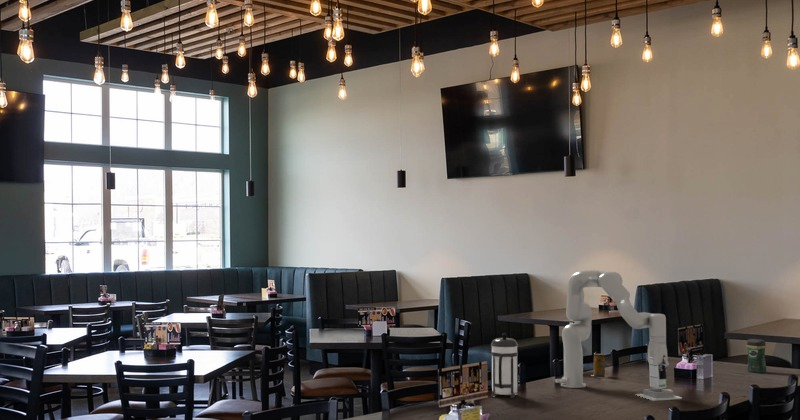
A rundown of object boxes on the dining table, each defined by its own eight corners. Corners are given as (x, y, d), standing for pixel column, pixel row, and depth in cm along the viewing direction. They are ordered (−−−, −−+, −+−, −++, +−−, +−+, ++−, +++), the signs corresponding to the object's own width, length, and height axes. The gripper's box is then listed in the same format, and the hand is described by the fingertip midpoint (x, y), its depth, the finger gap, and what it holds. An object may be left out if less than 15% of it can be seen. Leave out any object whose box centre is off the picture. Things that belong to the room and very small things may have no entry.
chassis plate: (652, 400, 379) (652, 394, 379) (635, 395, 392) (635, 388, 392) (682, 398, 384) (682, 392, 384) (664, 393, 397) (663, 387, 397)
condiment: (602, 375, 453) (602, 353, 453) (609, 377, 444) (609, 355, 445) (590, 375, 451) (589, 353, 452) (597, 378, 443) (596, 355, 443)
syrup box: (658, 388, 384) (658, 357, 385) (649, 386, 390) (648, 356, 390) (667, 387, 387) (666, 357, 388) (658, 385, 392) (657, 355, 393)
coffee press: (481, 394, 394) (481, 332, 395) (510, 392, 401) (509, 330, 402) (499, 401, 378) (499, 335, 380) (529, 398, 385) (528, 334, 386)
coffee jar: (768, 372, 462) (768, 339, 462) (761, 373, 457) (761, 340, 457) (752, 370, 469) (751, 337, 470) (745, 371, 464) (744, 338, 465)
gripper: (640, 338, 396) (640, 375, 396) (661, 342, 380) (662, 381, 379) (653, 337, 398) (654, 374, 398) (675, 341, 382) (676, 380, 381)
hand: (658, 377), depth 388 cm, fingers closed on syrup box, 6 cm apart
